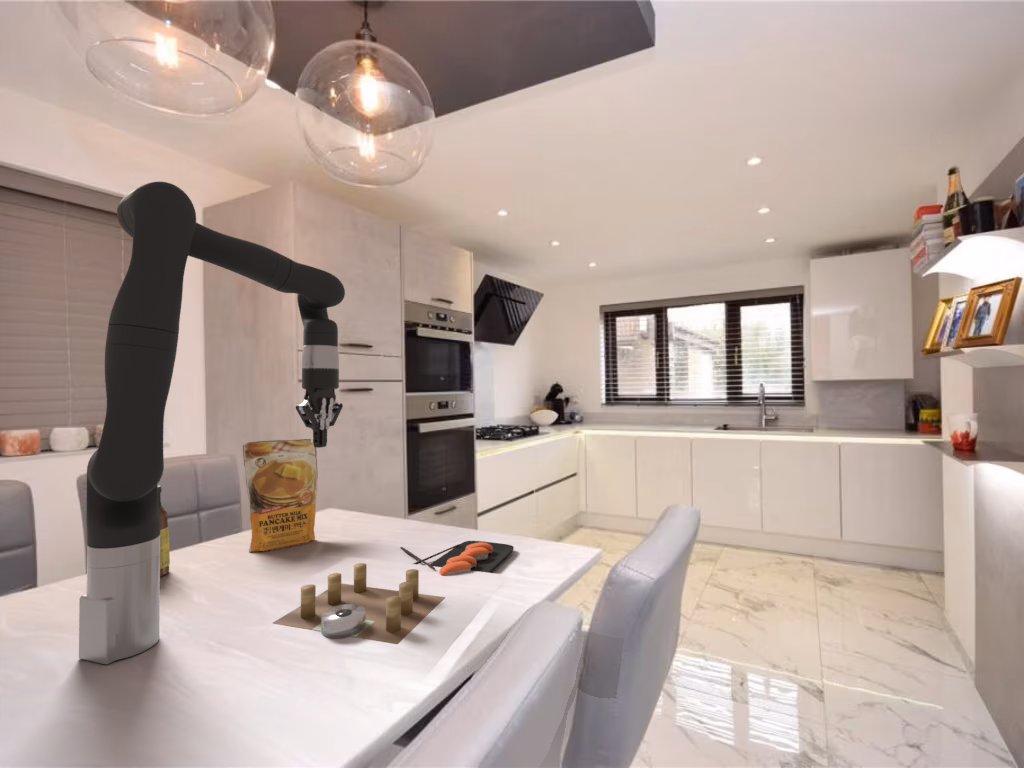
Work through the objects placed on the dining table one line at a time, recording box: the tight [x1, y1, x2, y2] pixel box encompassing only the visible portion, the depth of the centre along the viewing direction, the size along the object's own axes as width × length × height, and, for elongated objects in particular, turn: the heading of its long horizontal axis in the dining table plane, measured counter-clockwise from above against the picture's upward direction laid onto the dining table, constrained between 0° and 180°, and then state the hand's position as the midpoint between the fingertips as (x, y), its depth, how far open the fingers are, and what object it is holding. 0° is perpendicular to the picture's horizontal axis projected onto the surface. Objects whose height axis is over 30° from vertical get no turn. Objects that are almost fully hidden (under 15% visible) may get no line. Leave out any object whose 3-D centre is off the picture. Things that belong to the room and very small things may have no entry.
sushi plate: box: [399, 540, 514, 576], centre depth 117 cm, size 29×30×4 cm
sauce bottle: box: [158, 484, 171, 577], centre depth 109 cm, size 7×6×20 cm
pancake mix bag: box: [242, 438, 318, 552], centre depth 130 cm, size 7×19×28 cm, turn 129°
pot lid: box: [320, 604, 366, 639], centre depth 82 cm, size 7×7×3 cm
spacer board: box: [272, 562, 446, 645], centre depth 89 cm, size 18×24×6 cm
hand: (320, 446), depth 106 cm, fingers closed
